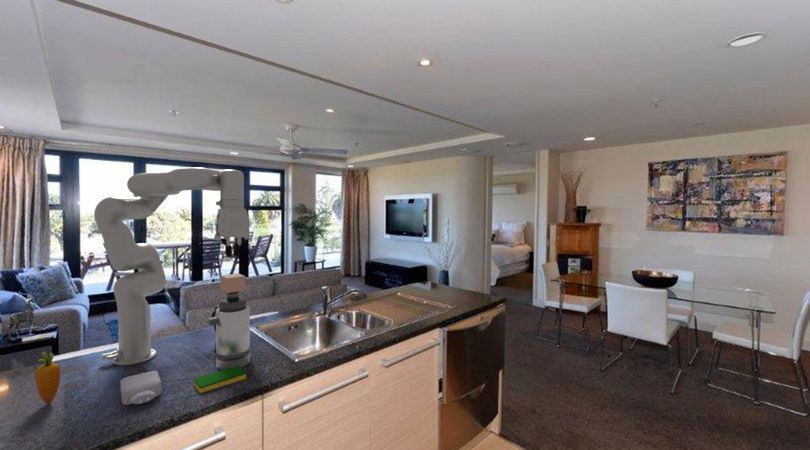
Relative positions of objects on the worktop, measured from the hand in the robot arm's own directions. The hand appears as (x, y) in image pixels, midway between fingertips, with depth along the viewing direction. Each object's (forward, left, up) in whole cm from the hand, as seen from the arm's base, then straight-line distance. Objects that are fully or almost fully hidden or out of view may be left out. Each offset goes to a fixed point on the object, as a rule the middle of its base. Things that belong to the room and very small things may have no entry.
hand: (232, 256), depth 126 cm
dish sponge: (-8, -11, -40) cm, 42 cm away
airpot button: (0, 0, -12) cm, 12 cm away
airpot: (-1, 0, -39) cm, 39 cm away
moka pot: (+3, +15, -39) cm, 42 cm away
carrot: (-47, +9, -39) cm, 62 cm away
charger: (-28, -5, -40) cm, 49 cm away
